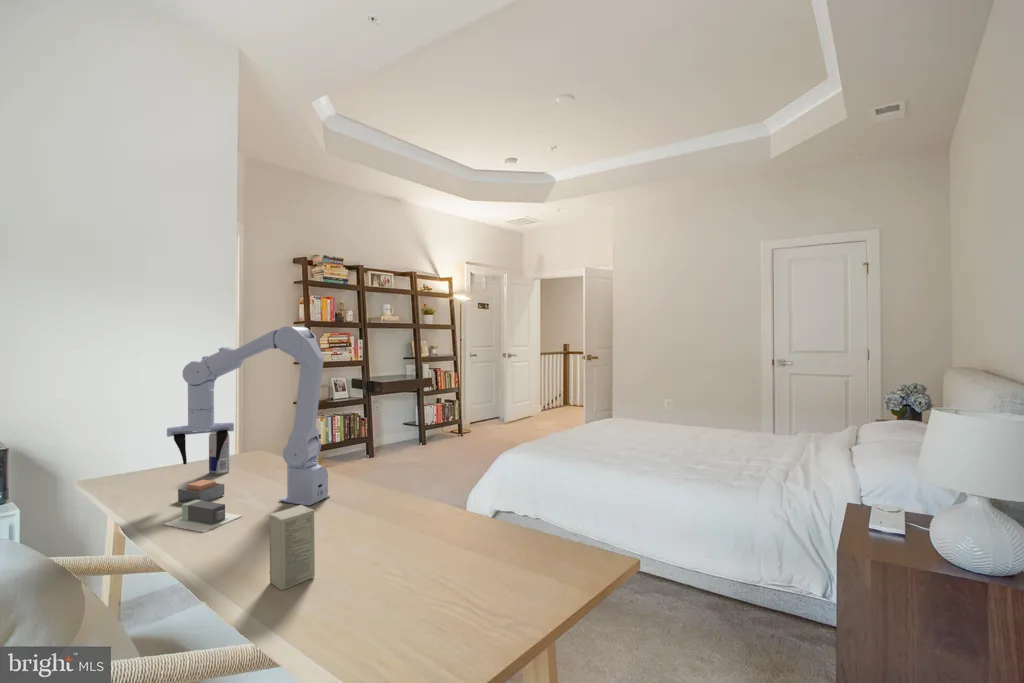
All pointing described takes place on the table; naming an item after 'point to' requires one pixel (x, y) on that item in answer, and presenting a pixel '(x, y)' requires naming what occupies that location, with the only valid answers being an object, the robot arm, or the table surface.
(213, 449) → the energy drink
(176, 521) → the paper sheet
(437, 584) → the table surface
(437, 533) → the table surface
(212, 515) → the block
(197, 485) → the button
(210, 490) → the button housing
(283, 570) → the skincare box
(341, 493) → the table surface
